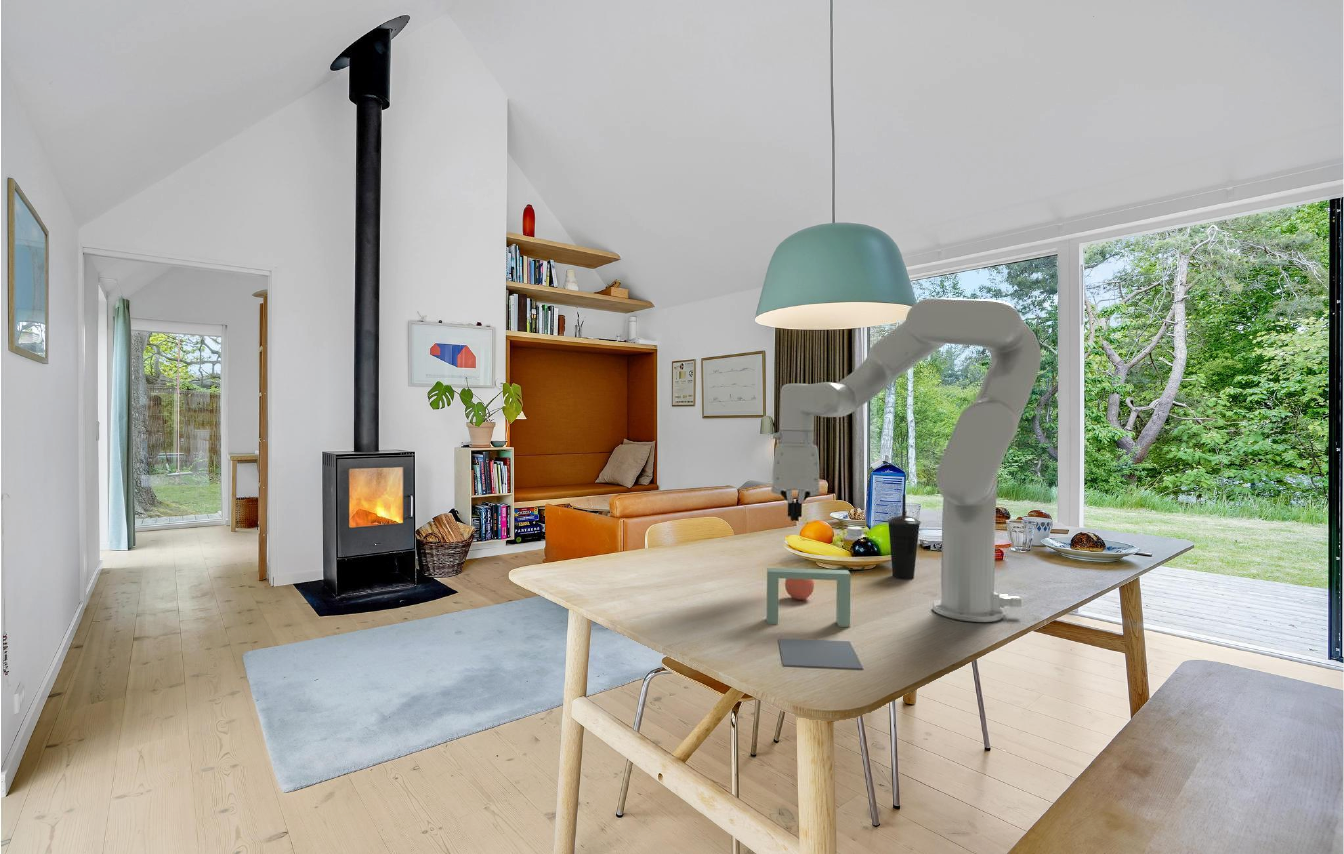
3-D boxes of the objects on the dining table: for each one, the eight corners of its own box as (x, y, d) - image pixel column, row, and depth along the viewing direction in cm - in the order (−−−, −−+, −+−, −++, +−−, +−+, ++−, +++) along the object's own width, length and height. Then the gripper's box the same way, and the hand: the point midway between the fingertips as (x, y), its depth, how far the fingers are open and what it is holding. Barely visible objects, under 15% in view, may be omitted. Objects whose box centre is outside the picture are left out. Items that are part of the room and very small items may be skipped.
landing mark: (849, 642, 110) (849, 641, 110) (863, 669, 98) (863, 668, 98) (778, 639, 111) (778, 638, 111) (783, 665, 99) (783, 664, 99)
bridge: (766, 618, 123) (767, 567, 122) (847, 621, 121) (847, 570, 121) (767, 623, 120) (767, 571, 119) (850, 626, 118) (850, 573, 118)
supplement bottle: (855, 570, 162) (855, 530, 162) (838, 566, 167) (839, 527, 167) (870, 568, 166) (870, 528, 165) (853, 563, 170) (853, 525, 170)
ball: (812, 595, 139) (812, 567, 139) (815, 603, 133) (815, 574, 133) (783, 594, 140) (784, 567, 139) (786, 602, 134) (786, 573, 133)
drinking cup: (923, 575, 158) (924, 494, 157) (916, 582, 151) (917, 497, 151) (890, 571, 162) (891, 492, 161) (883, 577, 155) (883, 494, 155)
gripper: (763, 438, 142) (761, 521, 142) (832, 440, 140) (830, 524, 141) (762, 437, 149) (760, 516, 150) (828, 439, 148) (825, 518, 148)
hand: (794, 519), depth 145 cm, fingers closed
